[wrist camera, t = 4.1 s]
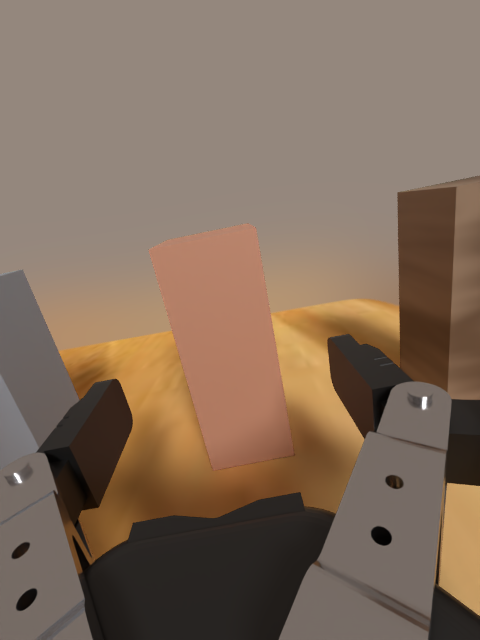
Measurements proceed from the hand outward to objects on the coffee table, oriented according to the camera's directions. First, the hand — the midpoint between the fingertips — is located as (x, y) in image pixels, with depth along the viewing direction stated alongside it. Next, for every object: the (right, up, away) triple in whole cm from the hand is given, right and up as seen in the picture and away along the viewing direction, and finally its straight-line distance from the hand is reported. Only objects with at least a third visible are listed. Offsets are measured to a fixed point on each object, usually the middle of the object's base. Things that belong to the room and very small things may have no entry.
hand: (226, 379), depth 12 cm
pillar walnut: (+14, -2, +7) cm, 15 cm away
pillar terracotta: (+1, -5, +7) cm, 9 cm away
